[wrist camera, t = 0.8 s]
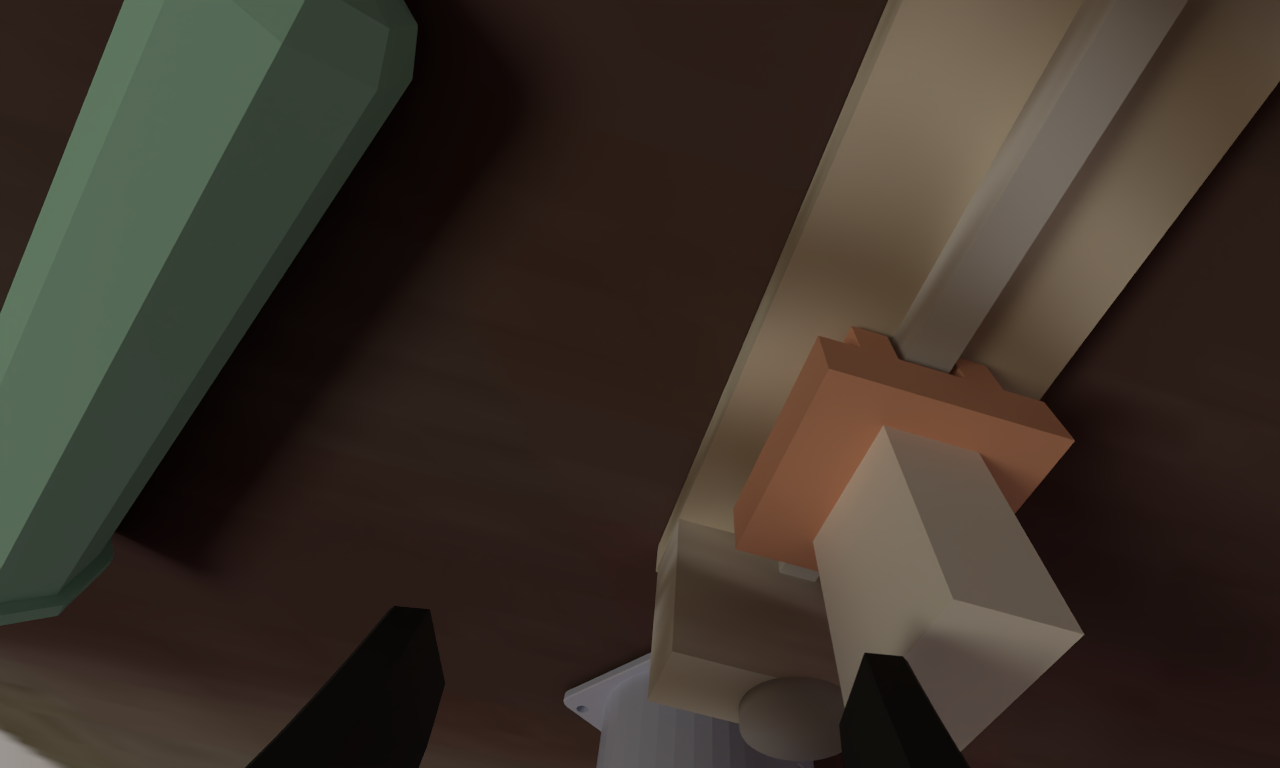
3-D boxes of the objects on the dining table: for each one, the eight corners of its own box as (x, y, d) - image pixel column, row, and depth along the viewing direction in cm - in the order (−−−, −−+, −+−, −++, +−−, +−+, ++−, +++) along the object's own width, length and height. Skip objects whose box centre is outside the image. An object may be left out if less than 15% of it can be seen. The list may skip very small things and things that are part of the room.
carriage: (913, 531, 20) (1012, 796, 14) (731, 481, 20) (744, 729, 13) (1023, 377, 17) (1223, 624, 10) (811, 313, 17) (880, 530, 10)
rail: (860, 602, 24) (906, 790, 19) (657, 548, 24) (641, 725, 18) (1417, -175, 12) (2050, -316, 6) (1025, -325, 11) (1336, -626, 6)
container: (105, -188, 9) (-163, 618, 20) (473, 88, 13) (78, 642, 23) (208, -221, 13) (-61, 463, 23) (465, -5, 16) (131, 504, 27)
